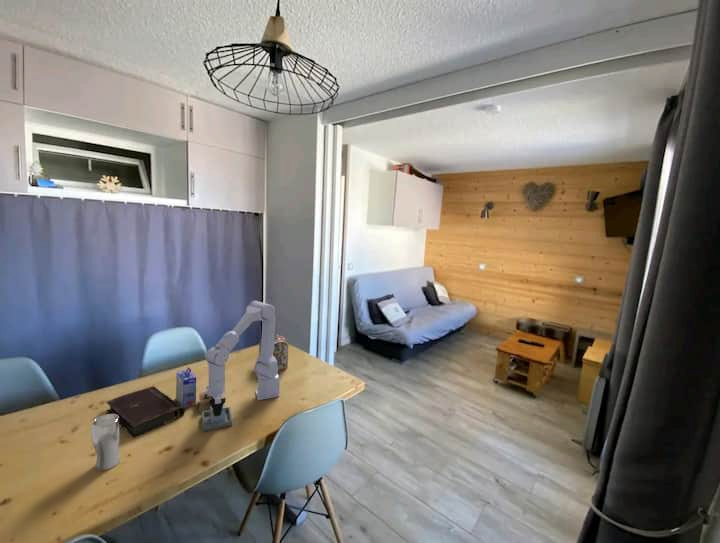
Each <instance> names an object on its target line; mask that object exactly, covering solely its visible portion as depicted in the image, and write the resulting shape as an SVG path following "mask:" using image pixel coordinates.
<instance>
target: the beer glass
mask: <svg viewBox="0 0 720 543" xmlns="http://www.w3.org/2000/svg"><path fill="white" fill-rule="evenodd" d="M120 439H121V425H120V421H119V416H118V415H117V414H109V413H107V414H103V415H101V416H98V417H96V418H95V419H93V421H92V422H91V441H92V445H93V448H94V451H95V454H96V463H95V469H96V470H97V471H102V472H103V471H109V470H110V469H112V468H114V467H116V466H117V465H118V464H119V463H120V462H121V456H120V453H119V444H120Z"/></svg>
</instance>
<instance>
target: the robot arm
mask: <svg viewBox="0 0 720 543" xmlns="http://www.w3.org/2000/svg"><path fill="white" fill-rule="evenodd" d="M248 304H249V305H247V306H246V309H245V313H244V314H243V316H242V317H241V318H240V320H239V321H238V323H237V324H236V325H235V326H234V328H233V329H232V330H230V331H227V332H226V333H224V334H223V336H222V338H221V339H220V340H219V341H218V343H217V344H215V346H212V347H211V348H209V349H208V350H207V351H206V354H205V355H204V358H205V359H204V360H205V361H206V362H207V366H208V386H209V389H207V390H206V389H205V391H204V392H205V393H206V394H210V396H211V398H212V399H210V400H209V403H210V405H211V406H212V409H213V413H214V416H215V417H216V416H220V415H221V412H222V407H223V405H224V404H225V403H226V400H227V399H226V397H223V396H224V394H225V392H226V363H227V362H228V360H229V357H230V354H231V351H232V350H233V349H234V348H235V347H236V346H237V344H238V343H239V342H240V336H241V335H242V334H243V333H244V332H245V331H246V329H248V328H249V327H250V325H251V324H253V322H258V321H261V322H262V323H261V324H262V326H261V340H260V341H261V354H260V356H259V355H258V357H256V360H255V364H254V366H253V370H254V372H255V374H256V376H257V389H256V390H255V391H254V392H255V395H256V398H257V400H258V401H261V400H267V399H271V398H272V399H273V398H278V397H280V383H281V382H280V376H279V373H278V372H279V370H278V366H277V360H276V359H275V357H274V356H273V349H274V335H275V334H276V333H275V332H276V319H277V318H276V312H275V311H276V307H275V306H274V305H272V304H269V303H266V302H262V301H259V300H252V301H251V302H250V303H248Z"/></svg>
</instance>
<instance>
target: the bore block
mask: <svg viewBox="0 0 720 543" xmlns="http://www.w3.org/2000/svg"><path fill="white" fill-rule="evenodd" d="M198 395H199V397H198V398H199V400H198V401H199V412H201V413H202V412H205V411H210V403H209V400H210V399H212V398H209V399H206V393H205V391H203V392H201V391H200V392H199V394H198Z"/></svg>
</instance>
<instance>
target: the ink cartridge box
mask: <svg viewBox="0 0 720 543" xmlns="http://www.w3.org/2000/svg"><path fill="white" fill-rule="evenodd" d="M175 374H176V375H175V378H176V379H175V380H176V382H175V385H176V386H175V399H176V400H177V402H178V404H179V405H180V406H182V407H183V408H184V409H185V408H188V407H190V406H195V405H197V376H195V374H194V373H193V372H192V369H191V368H190V367H187V369H185V370H181V371H177V372H175Z"/></svg>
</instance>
